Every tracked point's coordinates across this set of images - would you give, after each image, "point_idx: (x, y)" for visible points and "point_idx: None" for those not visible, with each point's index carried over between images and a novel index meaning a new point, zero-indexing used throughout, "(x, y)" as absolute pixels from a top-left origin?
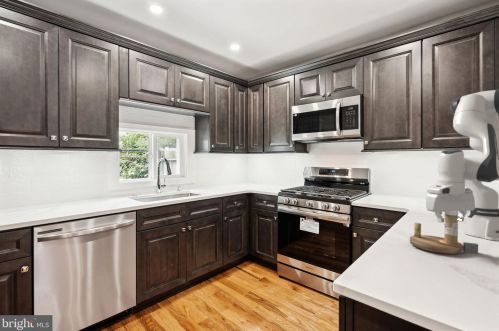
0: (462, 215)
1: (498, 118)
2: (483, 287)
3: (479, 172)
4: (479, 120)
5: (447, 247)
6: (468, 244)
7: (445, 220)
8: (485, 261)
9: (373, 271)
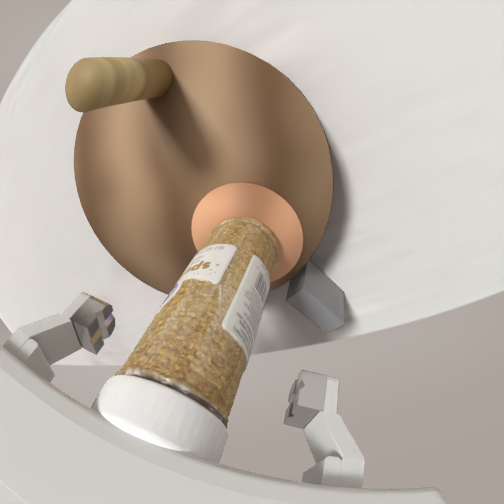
0: (313, 442)
1: None
2: (89, 355)
3: None
4: None
5: (147, 274)
6: (298, 306)
7: (144, 334)
8: None
9: None
